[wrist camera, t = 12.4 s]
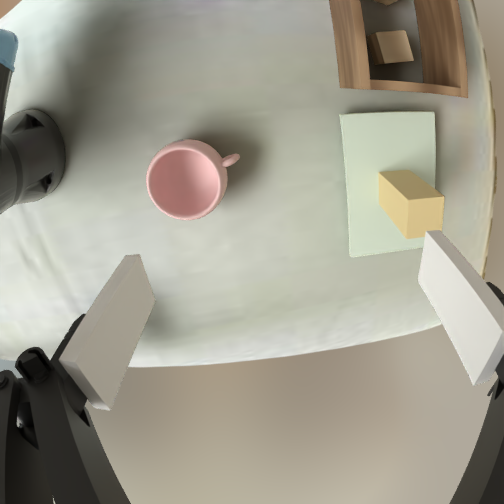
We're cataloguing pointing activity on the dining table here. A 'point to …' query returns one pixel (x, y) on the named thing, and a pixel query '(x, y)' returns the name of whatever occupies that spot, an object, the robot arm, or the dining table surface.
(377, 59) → the block
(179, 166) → the mug
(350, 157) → the lid
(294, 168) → the dining table surface
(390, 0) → the block
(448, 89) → the box
